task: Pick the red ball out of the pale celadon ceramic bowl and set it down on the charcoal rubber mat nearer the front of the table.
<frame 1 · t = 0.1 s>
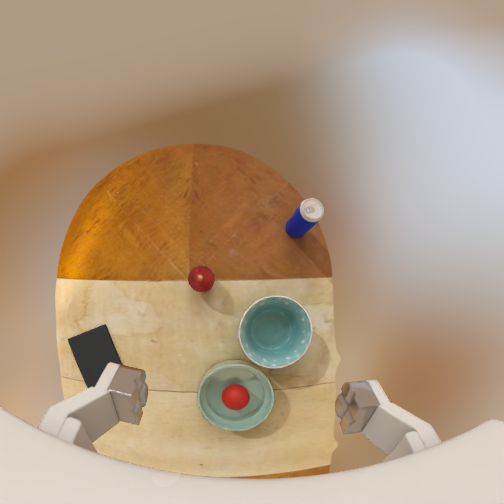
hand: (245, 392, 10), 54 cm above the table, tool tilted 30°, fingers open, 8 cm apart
onion: (202, 280, 64), on the table
fruit bowl: (234, 392, 59), on the table
bowl: (269, 329, 63), on the table
mat: (98, 361, 57), on the table
beverage can: (294, 229, 69), on the table
red ball: (235, 392, 59), point 1 cm above the table, touching fruit bowl
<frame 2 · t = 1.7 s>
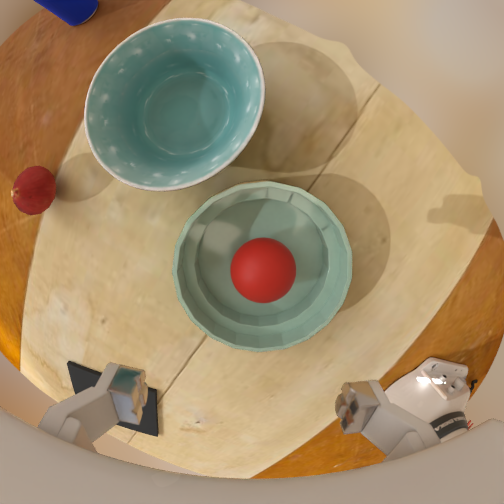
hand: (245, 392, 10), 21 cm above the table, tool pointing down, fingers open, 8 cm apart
onion: (53, 187, 27), on the table
fruit bowl: (261, 258, 30), on the table
bowl: (186, 115, 26), on the table
mat: (113, 401, 37), on the table
beverage can: (85, 13, 20), on the table
red ball: (261, 260, 30), point 1 cm above the table, touching fruit bowl
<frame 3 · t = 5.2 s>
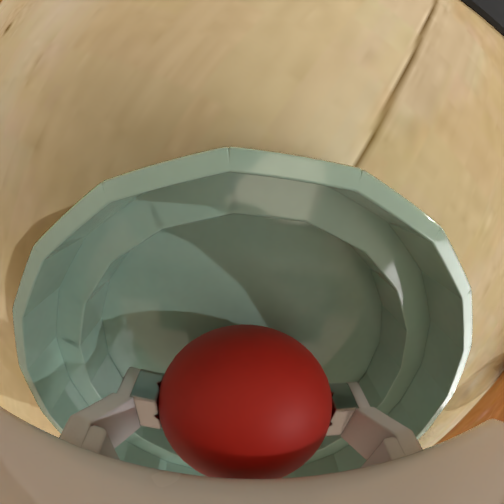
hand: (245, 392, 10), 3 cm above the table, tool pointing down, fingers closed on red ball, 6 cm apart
fruit bowl: (243, 347, 13), on the table
red ball: (243, 355, 12), point 1 cm above the table, touching fruit bowl, gripper
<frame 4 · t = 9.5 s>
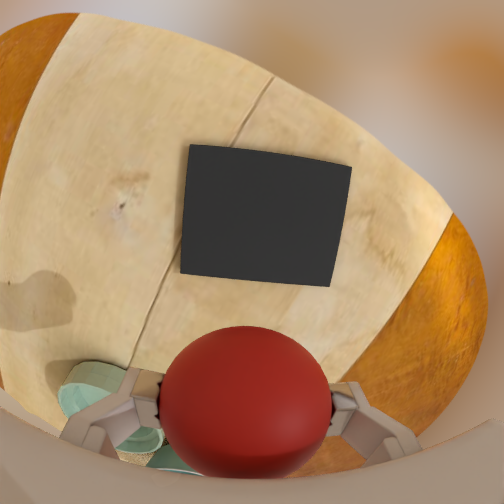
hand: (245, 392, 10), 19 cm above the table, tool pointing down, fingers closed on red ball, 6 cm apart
fruit bowl: (117, 399, 34), on the table
bowl: (187, 452, 40), on the table
mat: (264, 217, 27), on the table
red ball: (242, 356, 12), point 17 cm above the table, touching gripper
when the fingers open (3 cm above the table, at t = 14.0 s): red ball stays where it is, resting on mat.
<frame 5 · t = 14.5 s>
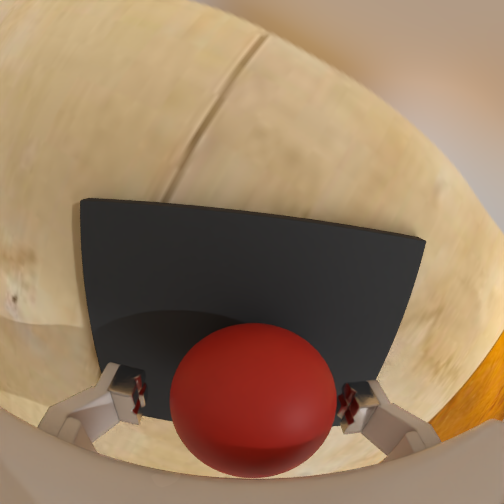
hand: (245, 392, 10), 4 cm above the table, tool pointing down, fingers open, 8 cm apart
mat: (244, 342, 13), on the table
red ball: (244, 354, 12), point 1 cm above the table, touching mat
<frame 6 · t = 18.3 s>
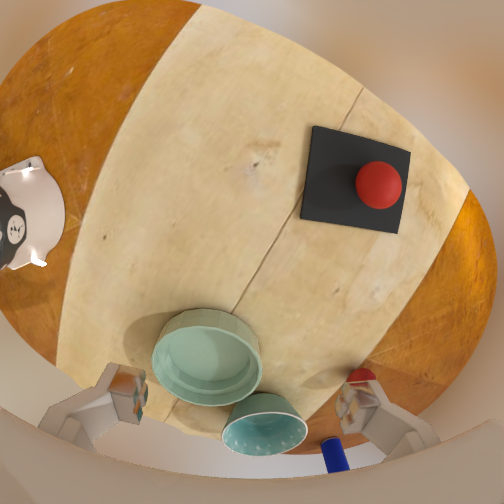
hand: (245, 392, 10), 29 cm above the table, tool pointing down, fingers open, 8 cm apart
onion: (354, 370, 47), on the table
fruit bowl: (208, 350, 43), on the table
bowl: (261, 405, 49), on the table
mat: (359, 181, 36), on the table
beverage can: (329, 440, 55), on the table
red ball: (362, 183, 35), point 1 cm above the table, tilted 21°, touching mat
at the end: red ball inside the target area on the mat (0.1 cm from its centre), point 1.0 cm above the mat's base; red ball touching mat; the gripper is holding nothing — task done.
